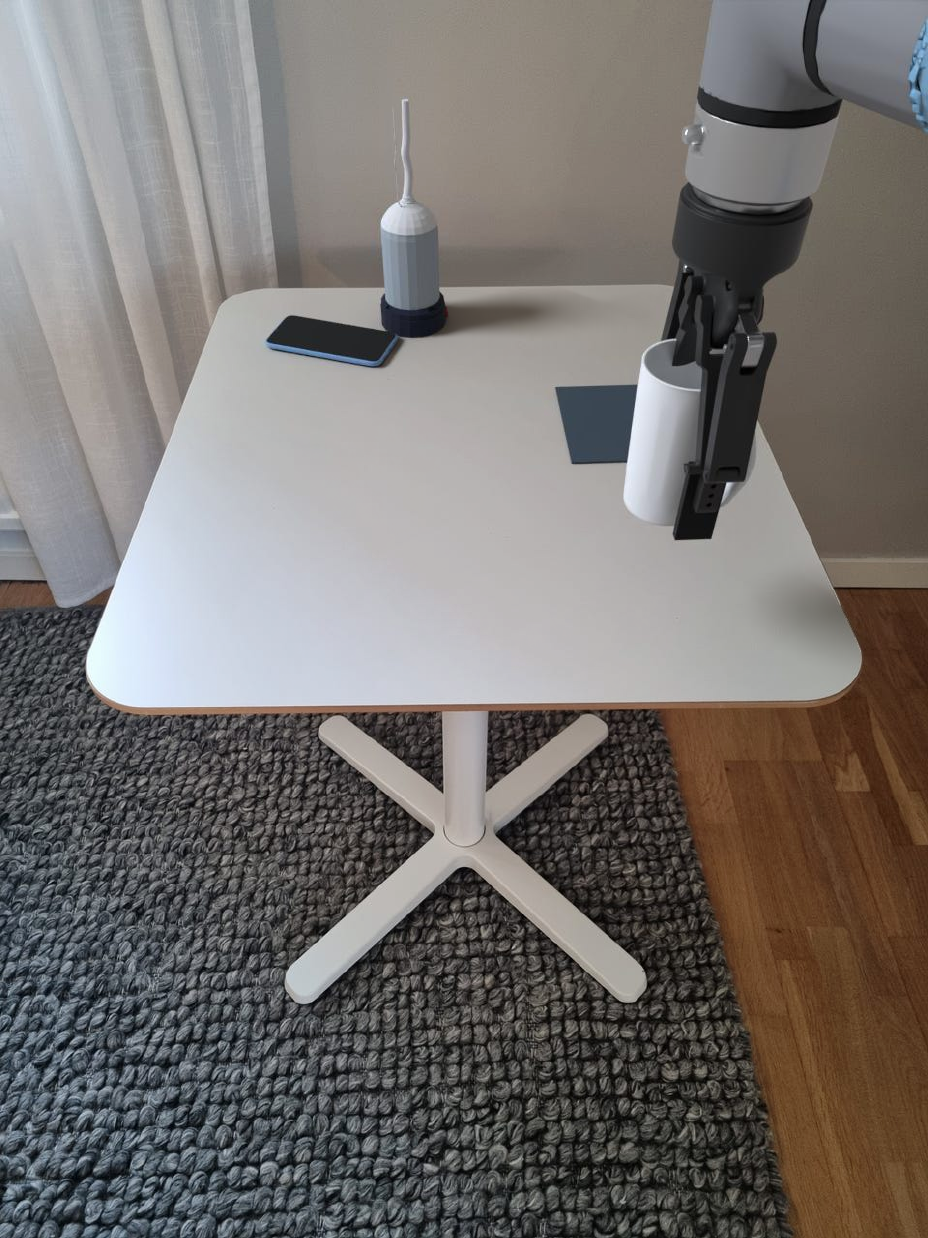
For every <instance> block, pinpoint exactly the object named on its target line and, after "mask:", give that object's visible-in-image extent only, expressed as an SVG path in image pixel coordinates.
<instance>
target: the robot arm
mask: <svg viewBox="0 0 928 1238" xmlns="http://www.w3.org/2000/svg"><path fill="white" fill-rule="evenodd" d="M709 16H710V17H709V23H708V28H707V29H708V30H707V35H706V41H705V47H704V52H703V60H702V65H701V72H700V78H699V82H698V83H699V84H698V89H697V93H696V95H697V96H696V104H695V109H694V113H695V114H694V119H693V124H691V125H685V126H684V127H683V128H682V130H681V139H680V141H681V143H682V144H683V145H686V146H688V150H687V156H686V162H685V168H684V176H685V179H686V180H687V182H686V184H684V185H683V187H682V188H681V189H680V192H679V196H678V197H679V198H678V202H677V209H676V215H675V222H674V226H673V232H672V239H671V246H672V250H673V253H674V254H675V256H676V257H677V259H678V267H677V274H676V277H675V282H674V286H673V289H672V293H671V297H670V302H669V305H668V310H667V313H666V318H665V323H664V327H663V330H662V334H661V339H660V342H661V341H664V340H669V339H676V346H675V351H674V357H673V362H672V366H683V365H687V364H690V363H692V362H694V361H696V364H697V365H698V366H700V367H701V368H702V378H701V391H700V404H699V417H698V429H697V442H696V455H695V461H690V462H689V463H685V464H684V472H685V474H686V476H685V481H684V485H683V489H682V494H681V498H680V503H679V507H678V511H677V516H676V520H675V525H674V526H673V529H672V536H673V541H694V540H712V538H713V534H714V531H715V527H716V523H717V521H718V520H717V519H718V517H719V513H720V510H721V508H720V506H721V502H722V498H723V495H724V491H725V487H726V484H727V483H731V482H744V481H745V479H746V475H747V469H748V464H749V459H750V454H751V449H752V444H753V439H754V434H756V430H757V425H758V419H759V414H760V409H761V404H762V398H763V393H764V389H765V384H766V379H767V373H768V371H769V368H770V365H771V362H772V359H773V357H774V354H775V352H776V349H777V345H778V337H777V334H776V332H774V331H768V332H767V331H766V332H763V331H761V330H760V328H759V325H760V323H761V322H762V320H763V318H764V309H765V297H764V287H765V285H766V284H767V283H768V282H769V281H771V280H773V278H774V277H777V276H779V275H780V274H783V273H785V272H786V271H788V270H790V269H791V268H792V267H793V266H794V265H795V264H796V263H797V261H798V259H799V256H800V254H801V250H802V247H803V243H804V239H805V235H806V232H807V229H808V224H809V221H810V218H811V215H812V211H813V208H814V204H813V200H812V199H811V196H812V195H813V194H815V193H816V192H817V191H818V190H819V187H820V185H821V183H822V179H823V176H824V172H825V169H826V165H827V161H828V158H829V155H830V152H831V151H830V150H831V147H832V143H833V140H834V136H835V133H836V129H837V126H838V123H839V119H840V116H841V112H842V111H841V107H842V103H843V100H844V101H845V102H848V103H851V104H854V105H856V106H859V107H862V108H864V109H866V110H869V111H871V112H874V113H876V114H879V115H881V116H884V117H887V118H889V119H892V120H894V121H896V122H899V123H901V124H904V125H906V126H909V127H912V128H913V129H916V130H919V131H922V132H924V133H927V134H928V0H712V4H711V9H710V15H709ZM712 349H714V350H719V349H723V353H724V354H710V351H712Z"/></svg>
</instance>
